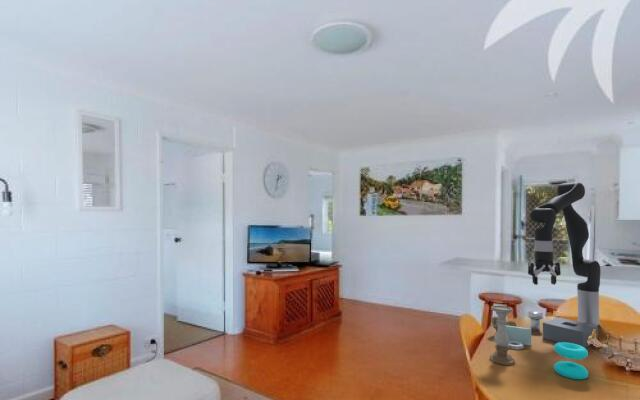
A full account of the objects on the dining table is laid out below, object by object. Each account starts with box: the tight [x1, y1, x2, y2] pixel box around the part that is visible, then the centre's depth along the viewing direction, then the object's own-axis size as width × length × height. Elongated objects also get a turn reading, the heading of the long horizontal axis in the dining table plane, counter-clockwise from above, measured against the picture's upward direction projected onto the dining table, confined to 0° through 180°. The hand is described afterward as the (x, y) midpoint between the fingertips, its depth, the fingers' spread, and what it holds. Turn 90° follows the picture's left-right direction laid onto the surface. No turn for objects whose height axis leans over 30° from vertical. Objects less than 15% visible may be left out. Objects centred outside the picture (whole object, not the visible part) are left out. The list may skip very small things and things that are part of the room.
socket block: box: [542, 316, 599, 349], centre depth 167 cm, size 16×16×7 cm
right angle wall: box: [506, 326, 532, 351], centre depth 157 cm, size 12×12×8 cm
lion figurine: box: [490, 315, 518, 335], centre depth 173 cm, size 15×5×9 cm, turn 107°
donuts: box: [553, 342, 589, 380], centre depth 130 cm, size 10×10×10 cm
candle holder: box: [489, 305, 516, 366], centre depth 142 cm, size 9×9×20 cm
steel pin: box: [527, 310, 544, 332], centre depth 181 cm, size 6×6×8 cm
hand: (544, 284), depth 174 cm, fingers open, 8 cm apart
